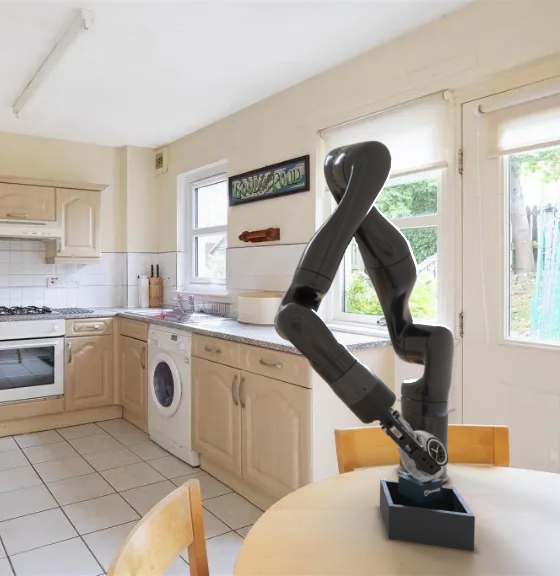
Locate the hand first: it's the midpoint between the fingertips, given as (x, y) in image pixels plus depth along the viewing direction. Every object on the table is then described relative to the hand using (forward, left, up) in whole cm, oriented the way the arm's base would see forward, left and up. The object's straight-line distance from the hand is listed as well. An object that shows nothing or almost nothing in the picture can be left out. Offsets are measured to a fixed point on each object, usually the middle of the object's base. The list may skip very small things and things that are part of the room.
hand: (430, 462), depth 82 cm
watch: (0, -1, -6) cm, 7 cm away
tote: (0, -1, -12) cm, 12 cm away
